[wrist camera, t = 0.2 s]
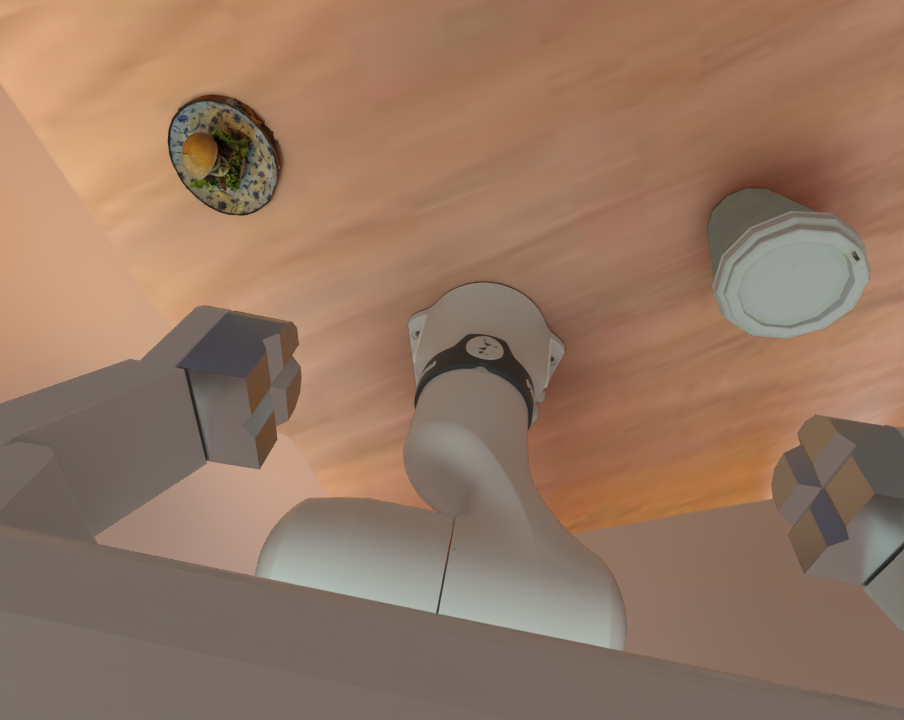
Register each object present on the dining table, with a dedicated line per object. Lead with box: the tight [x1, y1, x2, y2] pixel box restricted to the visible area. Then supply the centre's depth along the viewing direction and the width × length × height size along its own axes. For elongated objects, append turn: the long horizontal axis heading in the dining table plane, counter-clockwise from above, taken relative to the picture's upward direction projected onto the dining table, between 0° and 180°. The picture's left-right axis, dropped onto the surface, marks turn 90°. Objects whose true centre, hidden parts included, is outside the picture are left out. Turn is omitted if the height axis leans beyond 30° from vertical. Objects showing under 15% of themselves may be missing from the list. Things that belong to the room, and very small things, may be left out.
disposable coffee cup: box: [707, 188, 870, 338], centre depth 47 cm, size 11×11×15 cm
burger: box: [168, 95, 280, 215], centre depth 54 cm, size 12×12×8 cm
